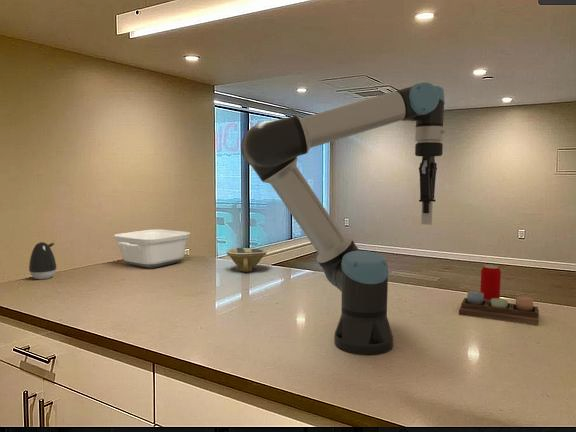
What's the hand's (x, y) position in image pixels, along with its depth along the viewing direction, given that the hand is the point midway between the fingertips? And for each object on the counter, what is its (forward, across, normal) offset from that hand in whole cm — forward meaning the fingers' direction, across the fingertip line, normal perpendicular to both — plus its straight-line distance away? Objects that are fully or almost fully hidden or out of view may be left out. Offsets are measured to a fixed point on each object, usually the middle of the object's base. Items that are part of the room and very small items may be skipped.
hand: (426, 224), depth 135 cm
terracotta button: (+26, +19, -26) cm, 42 cm away
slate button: (+26, +19, -12) cm, 35 cm away
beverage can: (+30, +35, -15) cm, 48 cm away
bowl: (+30, +35, +86) cm, 97 cm away
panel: (+29, +19, -19) cm, 40 cm away
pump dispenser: (+30, -18, +153) cm, 157 cm away
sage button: (+28, +19, -19) cm, 39 cm away
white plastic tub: (+30, +26, +134) cm, 140 cm away
